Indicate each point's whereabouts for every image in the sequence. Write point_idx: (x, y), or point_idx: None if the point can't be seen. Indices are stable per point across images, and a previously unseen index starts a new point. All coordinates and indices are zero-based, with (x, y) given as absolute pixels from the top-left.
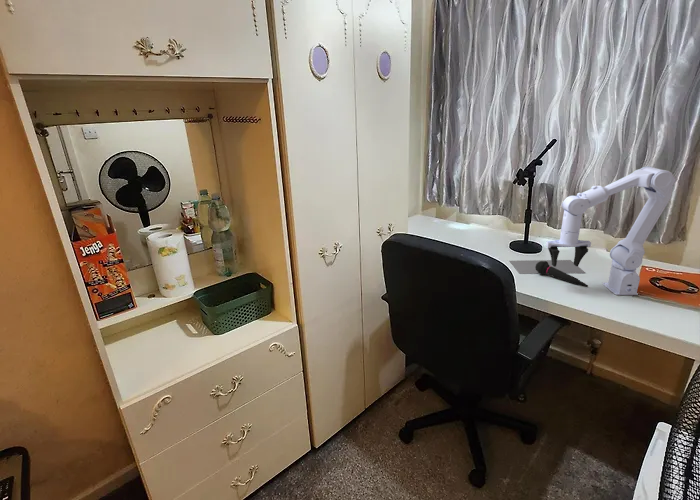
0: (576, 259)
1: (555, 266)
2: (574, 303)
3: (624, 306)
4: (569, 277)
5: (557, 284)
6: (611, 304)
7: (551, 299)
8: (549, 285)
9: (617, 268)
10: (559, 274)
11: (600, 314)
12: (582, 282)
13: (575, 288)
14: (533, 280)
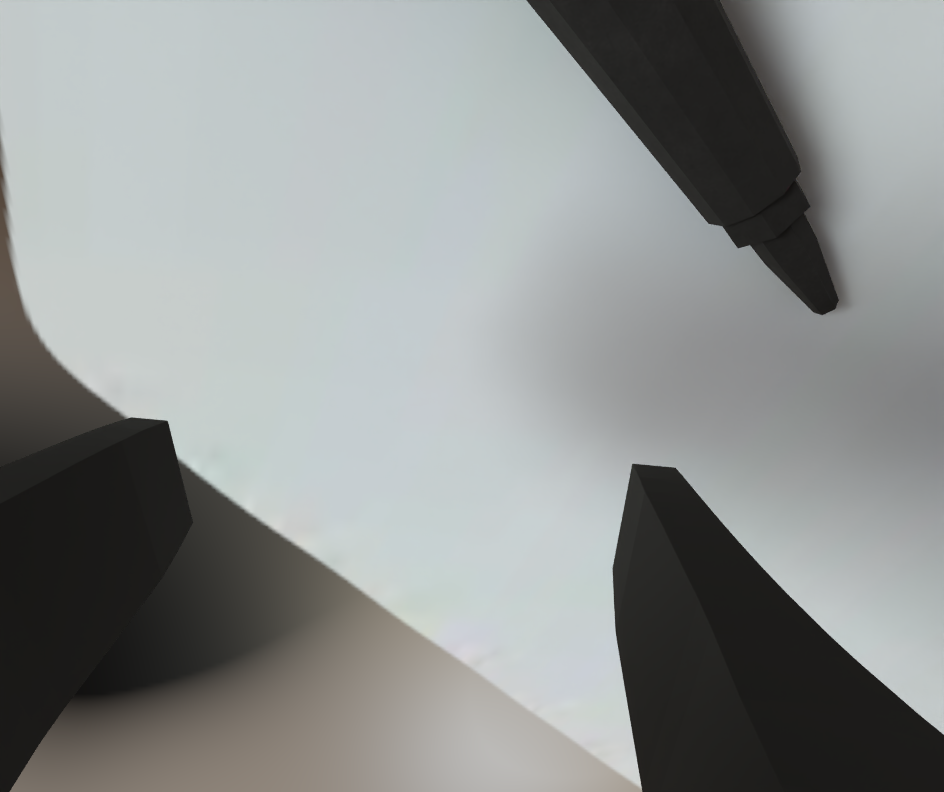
0: (651, 661)
1: (183, 524)
2: (455, 588)
3: None
4: (672, 138)
5: (472, 177)
6: None
7: (284, 513)
8: (355, 204)
9: None
10: (549, 11)
11: (563, 724)
12: (802, 257)
13: (644, 312)
14: (173, 9)
